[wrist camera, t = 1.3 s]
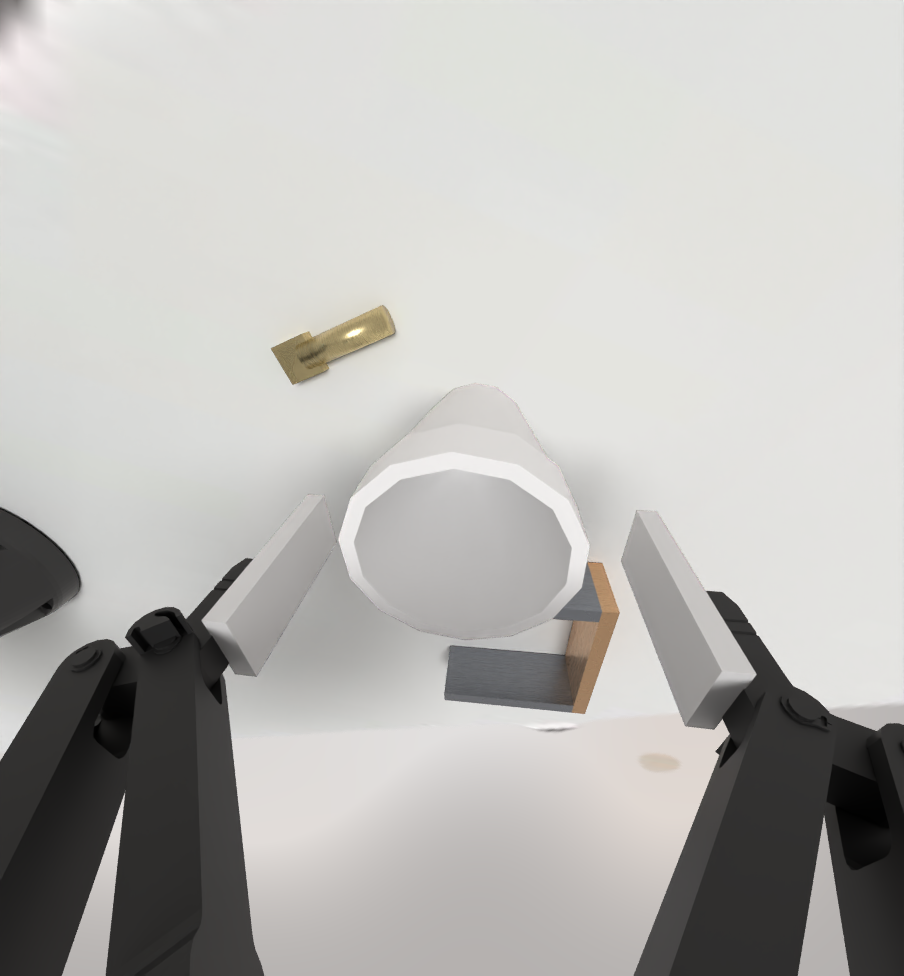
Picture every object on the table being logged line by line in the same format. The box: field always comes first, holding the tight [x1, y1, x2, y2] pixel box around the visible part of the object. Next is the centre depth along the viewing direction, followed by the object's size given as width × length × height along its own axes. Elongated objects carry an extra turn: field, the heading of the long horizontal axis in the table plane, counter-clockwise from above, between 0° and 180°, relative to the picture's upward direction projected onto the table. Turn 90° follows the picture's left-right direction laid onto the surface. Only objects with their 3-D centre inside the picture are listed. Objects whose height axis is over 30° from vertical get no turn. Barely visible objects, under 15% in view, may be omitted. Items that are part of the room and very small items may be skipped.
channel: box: [444, 562, 620, 714], centre depth 32 cm, size 13×14×5 cm
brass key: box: [271, 305, 395, 385], centre depth 22 cm, size 8×2×2 cm, turn 111°
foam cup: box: [338, 383, 590, 640], centre depth 19 cm, size 10×9×13 cm
